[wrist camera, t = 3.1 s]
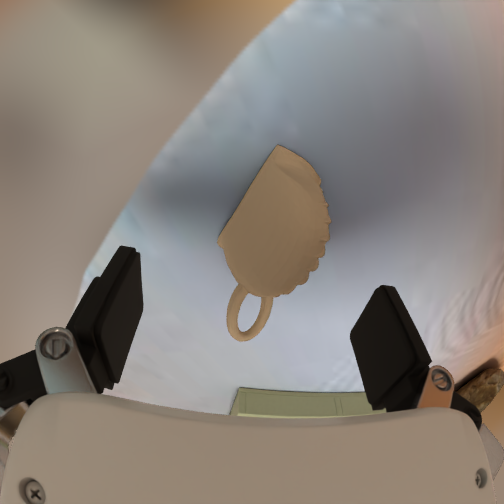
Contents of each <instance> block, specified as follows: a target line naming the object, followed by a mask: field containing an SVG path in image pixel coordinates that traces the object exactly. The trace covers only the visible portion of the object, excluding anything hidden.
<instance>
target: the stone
mask: <svg viewBox="0 0 504 504" xmlns="http://www.w3.org/2000/svg"><path fill="white" fill-rule="evenodd" d="M503 384H504V372H503V370H501V369H486V370H485V371H483V372H482V373H480V374H479V375H478V376H476V377H475V378H474V379H472V380H471V381H469V382H468V383H467V384H466V385H465V386H463V387H461V388H460V389H459V390H458V391H457V393H458V394H459V395H461V396H462V397H464V398H465V399H466V400H468V401H469V402H470V403H472V404H473V405H475V406H476V407H477V408H478V409H479V411H480V413H481V412H482V411H483V410H484V409H485V408H486V407H487V406H488V405H489V403H491V401H492V400H493V399H494V397H495V396H496V395H497V393H498V392H499V391H500V389H501V388H502V386H503Z"/></svg>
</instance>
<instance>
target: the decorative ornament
mask: <svg viewBox="0 0 504 504" xmlns="http://www.w3.org/2000/svg"><path fill="white" fill-rule="evenodd" d="M320 184H321V179H320V177H319V176H318V174H317V173H316V172H315V170H314V169H313V167H312V166H311V165H310V164H309V163H308V162H307V161H306V160H305V159H303V158H302V157H300V156H298V155H297V154H295V153H293V152H292V151H290V150H288V149H286V148H284V147H282V146H280V145H277V146H276V147H275V149H274V150H273V151H272V153H271V154H270V156H269V157H268V159H267V160H266V162H265V163H264V165H263V166H262V168H261V169H260V171H259V173H258V174H257V176H256V177H255V179H254V181H253V182H252V184H251V186H250V187H249V189H248V191H247V192H246V194H245V196H244V197H243V199H242V201H241V202H240V204H239V206H238V207H237V209H236V211H235V212H234V214H233V215H232V217H231V218H230V220H229V221H228V223H227V225H226V226H225V228H224V229H223V231H222V232H221V234H220V236H219V237H218V241H217V244H218V245H219V246H220V247H221V248H223V249H224V254H225V258H226V261H227V264H228V266H229V268H230V270H231V272H232V274H233V276H234V278H235V279H236V281H237V282H238V283H239V284H238V286H237V287H236V288H235V290H234V292H233V294H232V296H231V298H230V301H229V304H228V308H227V327H228V331H229V333H230V335H231V336H232V337H233V338H234V339H236V340H237V341H248V340H250V339H252V338H254V337H255V336H256V335H257V334H258V333H259V332H260V331H261V330H262V328H263V327H264V326H265V324H266V322H267V320H268V318H269V315H270V312H271V308H272V305H273V297H278V296H280V295H281V294H289V293H291V292H292V291H293V290H294V289H295V287H296V286H297V285H302V284H304V283H306V282H307V280H308V277H309V272H310V271H315V270H316V269H317V268H318V265H319V260H318V258H321V257H323V256H324V254H325V244H326V242H327V241H329V239H330V235H329V224H330V223H331V222H332V221H331V219H330V217H329V214H328V209H327V207H328V206H329V205H328V204H327V202H325V198H324V196H323V194H322V193H323V191H322V189H321V188H320ZM248 293H250V294H252V295H255V296H258V297H261V300H262V301H261V308H260V312H259V315H258V317H257V319H256V321H255V323H254V324H253V326H252V327H251V328H250V329H248V330H247V331H245V332H241V331H240V330H239V328H238V323H237V319H238V313H239V310H240V306H241V304H242V302H243V300H244V298H245V297H246V295H247V294H248Z"/></svg>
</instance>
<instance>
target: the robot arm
mask: <svg viewBox="0 0 504 504" xmlns="http://www.w3.org/2000/svg"><path fill="white" fill-rule="evenodd" d="M142 312H143V294H142V280H141V261H140V253H138V252H136V249H135V248H133V247H127V246H120V247H119V248H118V250H117V251H116V253H115V254H114V256H113V257H112V259H111V261H110V262H109V264H108V265H107V267H106V269H105V270H104V272H103V274H102V275H101V277H95V278H94V279H93V281H92V282H91V284H90V286H89V287H88V289H87V291H86V292H85V294H84V296H83V297H82V299H81V301H80V303H79V304H78V306H77V308H76V310H75V311H74V313H73V315H72V317H71V319H70V321H69V322H68V324H67V326H66V328H61V327H54V328H50V329H47V330H46V331H44V332H43V333H42V334H40V336H39V337H38V339H37V341H36V345H35V350H33V351H30V352H28V353H26V354H23V355H21V356H18V357H16V358H14V359H11V360H8V361H6V362H4V363H1V364H0V504H497V502H496V495H495V490H494V485H493V480H494V478H495V477H496V475H497V473H498V471H499V468H500V467H501V464H502V463H503V460H504V449H503V447H502V446H501V444H500V443H499V442H498V441H497V439H496V438H495V437H494V436H493V434H492V433H491V432H490V430H489V429H488V428H487V427H486V426H485V424H482V418H481V413H480V411H479V409H478V408H477V407H476V406H475V405H473V404H472V403H470V402H469V401H468V400H466V399H465V398H464V397H462V396H461V395H459V394H458V393H457V392H455V391H454V380H453V377H452V375H451V374H450V372H449V371H448V370H447V369H445V368H444V367H442V366H438V365H435V366H432V367H431V368H429V366H428V365H429V364H430V363H431V362H432V360H431V358H430V356H429V354H428V351H427V349H426V347H425V345H424V343H423V341H422V339H421V337H420V335H419V333H418V331H417V328H416V326H415V324H414V323H413V321H412V319H411V317H410V315H409V313H408V311H407V309H406V307H405V305H404V303H403V301H402V300H401V298H400V296H399V294H398V292H397V290H396V289H395V287H393V286H386V285H381V286H380V287H379V288H377V289H375V291H374V293H373V295H372V296H371V298H370V300H369V302H368V303H367V305H366V307H365V309H364V310H363V312H362V314H361V315H360V317H359V319H358V320H357V322H356V324H355V325H354V327H353V329H352V330H351V333H350V340H351V343H352V347H353V350H354V353H355V357H356V360H357V364H358V367H359V371H360V374H361V378H362V381H363V385H364V389H365V393H366V396H367V400H368V403H369V404H371V406H372V410H373V411H375V410H383V409H384V408H386V413H380V414H371V415H361V416H348V417H331V418H262V417H245V416H232V415H221V414H212V413H204V412H197V411H190V410H183V409H177V408H171V407H165V406H159V405H154V404H148V403H143V402H139V401H134V400H129V399H124V398H119V397H114V396H109V395H104V394H101V393H103V390H104V388H107V389H111V390H112V389H113V386H114V383H119V381H120V378H121V375H122V372H123V369H124V365H125V362H126V359H127V356H128V353H129V350H130V347H131V344H132V341H133V338H134V335H135V332H136V329H137V326H138V324H139V321H140V318H141V315H142ZM481 424H482V425H481ZM16 430H17V431H16ZM13 436H14V439H13V442H12V445H11V449H10V452H9V449H8V446H9V442H10V440H11V439H12V437H13Z"/></svg>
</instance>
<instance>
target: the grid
mask: <svg viewBox="0 0 504 504" xmlns="http://www.w3.org/2000/svg"><path fill="white" fill-rule="evenodd" d="M380 413H386V408H384V409H383V410H375V411H373V410H372V406H371V404H369V403H368V400H367V396H366V393H365V392H359V393H306V392H284V391H270V390H258V389H247V388H239V390H238V393H237V396H236V399H235V402H234V404H233V407H232V410H231V413H230V415H232V416H245V417H262V418H331V417H348V416H361V415H371V414H380Z"/></svg>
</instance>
